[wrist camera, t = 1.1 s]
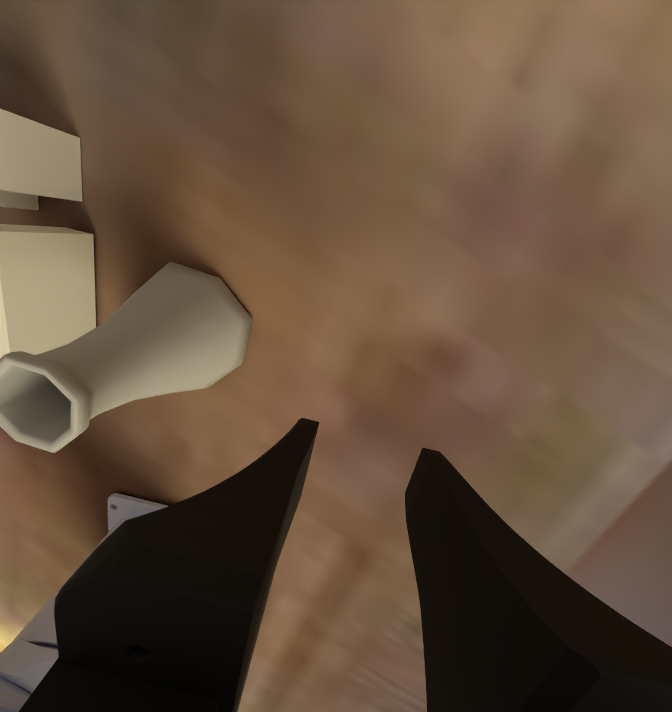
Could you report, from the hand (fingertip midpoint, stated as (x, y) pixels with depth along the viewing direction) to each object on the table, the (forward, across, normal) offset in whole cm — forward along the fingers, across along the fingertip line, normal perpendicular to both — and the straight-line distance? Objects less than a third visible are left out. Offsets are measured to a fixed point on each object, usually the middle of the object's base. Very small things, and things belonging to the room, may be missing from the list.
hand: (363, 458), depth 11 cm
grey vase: (+9, +10, 0) cm, 14 cm away
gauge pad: (+8, +17, -2) cm, 19 cm away
